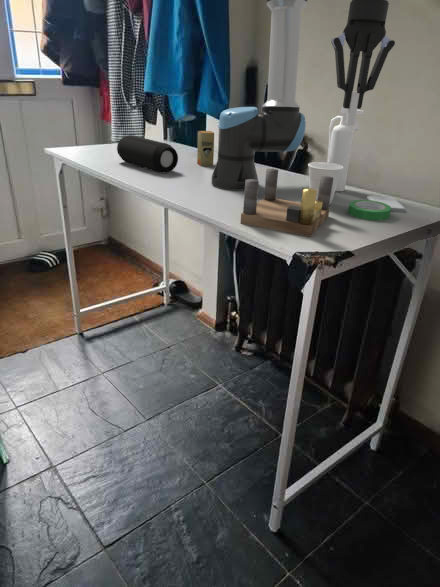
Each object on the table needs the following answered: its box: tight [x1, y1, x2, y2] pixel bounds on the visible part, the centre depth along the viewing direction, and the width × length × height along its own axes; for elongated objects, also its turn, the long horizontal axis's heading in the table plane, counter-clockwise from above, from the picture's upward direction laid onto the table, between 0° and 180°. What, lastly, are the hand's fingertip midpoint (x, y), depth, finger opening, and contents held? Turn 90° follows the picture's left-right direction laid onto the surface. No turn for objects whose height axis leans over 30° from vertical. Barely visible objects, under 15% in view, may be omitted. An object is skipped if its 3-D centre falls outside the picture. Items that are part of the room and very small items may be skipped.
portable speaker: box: [116, 134, 179, 174], centre depth 161 cm, size 26×10×10 cm, turn 45°
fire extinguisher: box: [326, 106, 365, 192], centre depth 141 cm, size 7×12×25 cm, turn 39°
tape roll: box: [347, 199, 392, 222], centre depth 123 cm, size 11×11×3 cm
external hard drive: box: [366, 195, 407, 213], centre depth 133 cm, size 2×8×12 cm
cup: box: [307, 161, 344, 206], centre depth 128 cm, size 10×10×11 cm
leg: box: [299, 187, 323, 224], centre depth 107 cm, size 11×3×8 cm, turn 151°
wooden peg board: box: [240, 168, 333, 237], centre depth 113 cm, size 18×18×10 cm
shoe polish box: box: [196, 130, 215, 167], centre depth 169 cm, size 5×5×12 cm
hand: (349, 124), depth 100 cm, fingers closed
